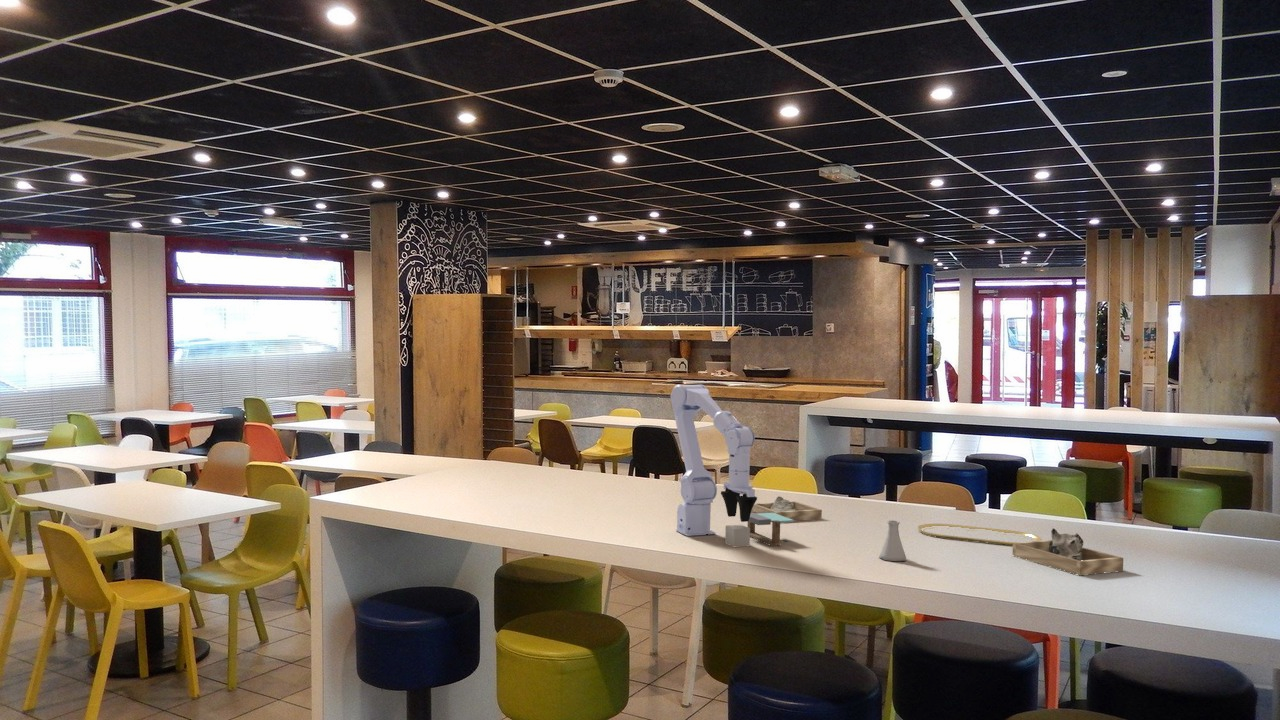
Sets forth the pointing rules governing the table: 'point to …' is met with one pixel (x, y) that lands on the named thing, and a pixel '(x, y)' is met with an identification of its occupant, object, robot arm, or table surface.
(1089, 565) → the shallow wooden tray
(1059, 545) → the grey lumpy piece
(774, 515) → the trapdoor
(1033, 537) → the serving platter
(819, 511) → the square wooden tray
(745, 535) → the light grey cube
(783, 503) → the rock sample
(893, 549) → the flask
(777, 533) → the frame
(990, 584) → the table surface
